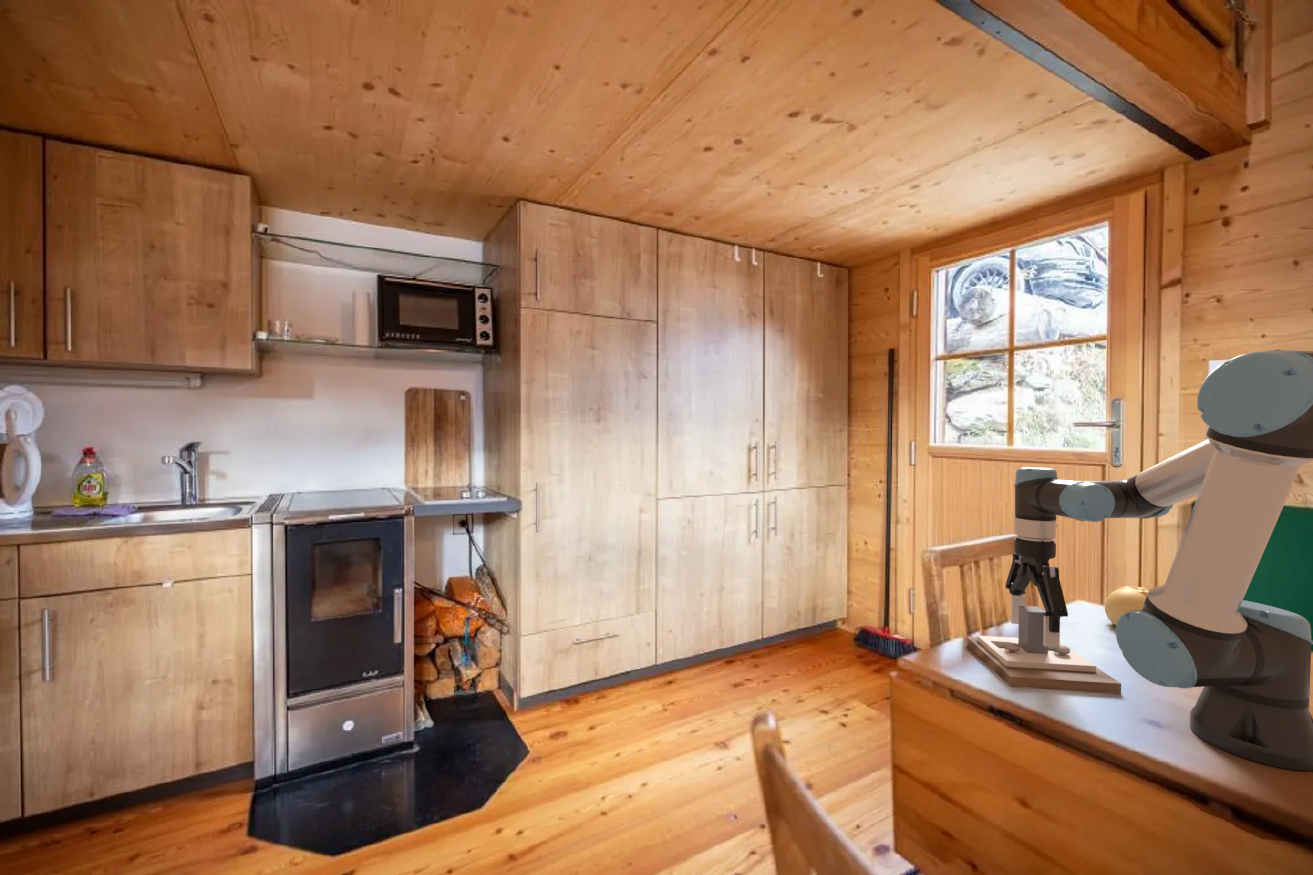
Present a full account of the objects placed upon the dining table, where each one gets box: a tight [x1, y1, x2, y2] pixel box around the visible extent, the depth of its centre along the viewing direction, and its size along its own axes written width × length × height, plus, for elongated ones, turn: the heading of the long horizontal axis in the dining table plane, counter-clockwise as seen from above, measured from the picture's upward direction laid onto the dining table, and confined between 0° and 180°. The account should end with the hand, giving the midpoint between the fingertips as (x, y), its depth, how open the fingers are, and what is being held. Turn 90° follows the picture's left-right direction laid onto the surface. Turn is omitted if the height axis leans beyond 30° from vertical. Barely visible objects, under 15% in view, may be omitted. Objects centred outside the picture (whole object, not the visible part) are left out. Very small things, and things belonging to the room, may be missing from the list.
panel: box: [976, 605, 1097, 672], centre depth 121 cm, size 14×17×10 cm
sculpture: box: [1104, 585, 1150, 626], centre depth 143 cm, size 12×12×11 cm
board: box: [966, 636, 1122, 695], centre depth 119 cm, size 21×20×5 cm
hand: (1033, 634), depth 121 cm, fingers open, 13 cm apart
